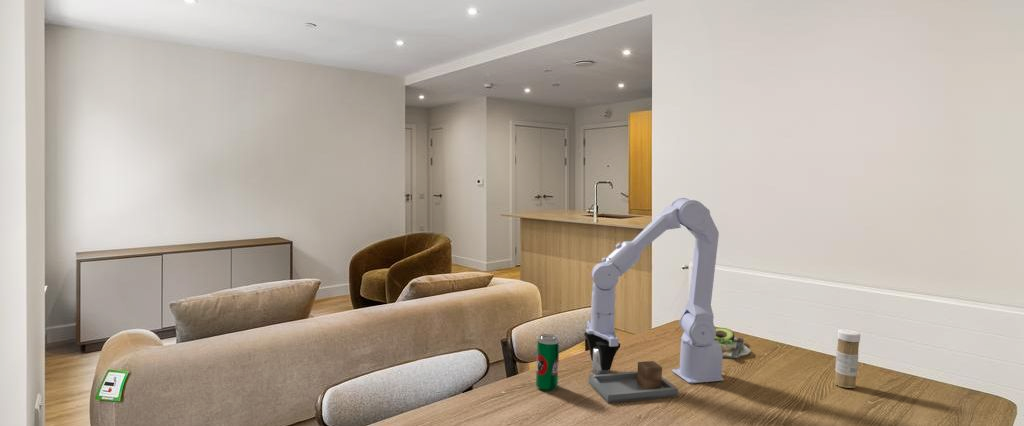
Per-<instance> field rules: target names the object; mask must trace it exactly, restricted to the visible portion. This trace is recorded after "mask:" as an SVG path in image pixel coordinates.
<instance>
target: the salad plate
mask: <svg viewBox="0 0 1024 426" xmlns="http://www.w3.org/2000/svg"><path fill="white" fill-rule="evenodd" d="M715 329H716V336H715V339H714V340H715V341H717V342H718V343H719V344H720V346H721V349H722V353H723V358H722V359H738V358H740V357H745V356H747V355H750V353H751V349H750V348H748V346H746V345H745V344H744V342H745V341H744V338H742V337H737V338H736V337H735V333H734V331H733V330H731V329H729V328H727V327H715Z"/></svg>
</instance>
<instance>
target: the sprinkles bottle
mask: <svg viewBox="0 0 1024 426" xmlns="http://www.w3.org/2000/svg"><path fill="white" fill-rule="evenodd" d="M836 338H837V348H836V357H835V366H834V367H835V369H834V371H835V373H834V375H835V376H834V380H833V383H834V384H835V386H837V385H838V386H837V387H839V386H842V387H846V388H854V389H856V388H857V385H856V383H857V374H858V364H859V363H858V362H859V345H860V342H861V333H860V332H858V331H856V330H852V329H846V328H841V329H838V330H837V337H836ZM855 387H856V388H855Z"/></svg>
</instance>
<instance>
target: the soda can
mask: <svg viewBox="0 0 1024 426" xmlns="http://www.w3.org/2000/svg"><path fill="white" fill-rule="evenodd" d="M559 355H560V341H559V338H558V336H557V335H556V334H552V333H542V334H539V336H538V339H537V341H536V366H535V368H536V373H535V386H536V387H537V389H538V390H540V391H543V392H544V391H545V392H551V391H555V390H556V389H557V388H558V386H559V385H558V384H559V364H560V363H559V361H560V358H559V357H560V356H559Z"/></svg>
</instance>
